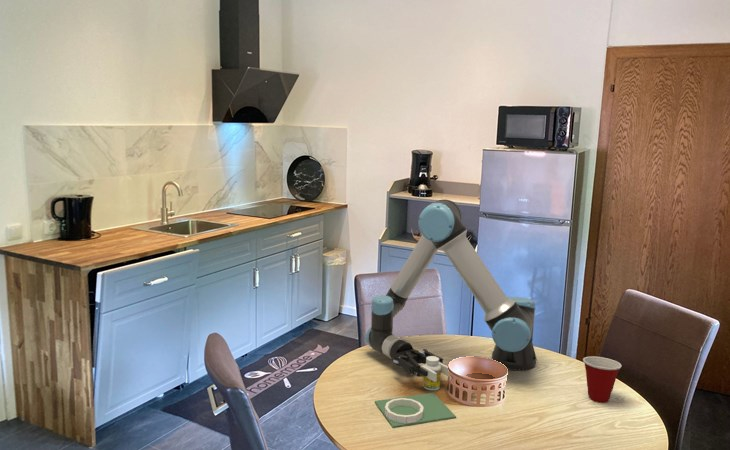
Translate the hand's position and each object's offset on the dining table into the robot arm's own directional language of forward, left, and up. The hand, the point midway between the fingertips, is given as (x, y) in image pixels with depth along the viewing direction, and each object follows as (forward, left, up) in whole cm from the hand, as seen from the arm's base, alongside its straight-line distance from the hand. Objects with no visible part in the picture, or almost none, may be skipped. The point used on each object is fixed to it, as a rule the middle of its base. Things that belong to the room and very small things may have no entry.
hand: (443, 375), depth 174 cm
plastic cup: (-45, +16, -6) cm, 48 cm away
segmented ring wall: (+16, +9, -6) cm, 20 cm away
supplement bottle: (+1, -5, -6) cm, 8 cm away
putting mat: (+12, +7, -6) cm, 15 cm away
